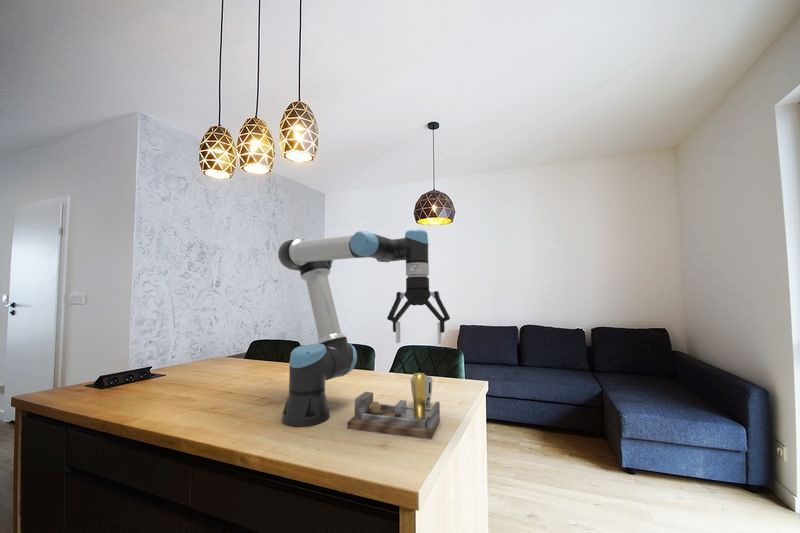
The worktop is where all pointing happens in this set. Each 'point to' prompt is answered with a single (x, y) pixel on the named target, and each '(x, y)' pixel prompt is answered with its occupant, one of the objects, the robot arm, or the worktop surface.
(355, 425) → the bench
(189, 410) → the worktop surface
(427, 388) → the cup
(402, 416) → the lever
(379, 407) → the nut
